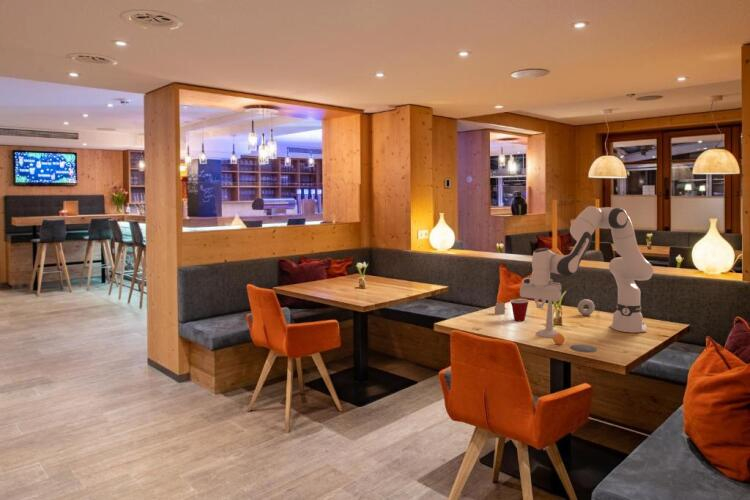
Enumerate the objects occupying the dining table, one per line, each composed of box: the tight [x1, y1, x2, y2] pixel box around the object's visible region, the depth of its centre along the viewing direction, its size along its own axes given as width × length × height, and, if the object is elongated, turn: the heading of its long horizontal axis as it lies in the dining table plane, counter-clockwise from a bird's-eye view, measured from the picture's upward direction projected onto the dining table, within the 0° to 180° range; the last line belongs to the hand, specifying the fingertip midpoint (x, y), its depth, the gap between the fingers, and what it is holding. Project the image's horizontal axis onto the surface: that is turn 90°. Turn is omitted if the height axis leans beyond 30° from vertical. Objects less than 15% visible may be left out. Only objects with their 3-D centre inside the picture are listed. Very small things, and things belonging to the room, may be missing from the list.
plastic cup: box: [509, 298, 530, 322], centre depth 324 cm, size 11×11×12 cm
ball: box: [552, 332, 565, 345], centre depth 275 cm, size 6×6×6 cm
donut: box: [577, 298, 596, 316], centre depth 336 cm, size 10×4×10 cm, turn 87°
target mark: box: [569, 344, 598, 353], centre depth 268 cm, size 12×12×1 cm
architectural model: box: [494, 301, 507, 315], centre depth 342 cm, size 3×7×7 cm, turn 91°
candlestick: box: [535, 278, 562, 339], centre depth 292 cm, size 13×13×30 cm
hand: (539, 307), depth 279 cm, fingers closed
